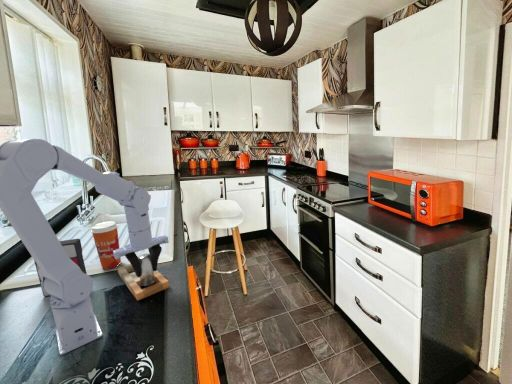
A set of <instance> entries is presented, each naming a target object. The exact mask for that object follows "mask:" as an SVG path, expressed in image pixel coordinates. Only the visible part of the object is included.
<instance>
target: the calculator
mask: <svg viewBox="0 0 512 384" xmlns="http://www.w3.org/2000/svg"><path fill="white" fill-rule="evenodd" d="M59 242H60V243H61V245H62V247H63V248H64V250H65V252H66V254H67V255H68V257H69V258H70V259H71V260H72V261H73V262H74V263H75V264H76V265H78V266H79V267H80V269H81V271H82V272H83V273H85V274H87V275H88V273H87V269H86V265H85V260H84V255H83V246H82V243H81V238H73V239H66V240H64V239H63V240H59ZM33 261H34V265H35V268H36V272H37V275H38V280H39V284H40V288H41V292H42V295H43V297H51V296H50V295H51V294H47V293H45V292H44V291H43V290H42V287H41V277H40V275H39V274H38V271H39V269H40V268H39V266H38V265H37V263H36V262H35V260H34V259H33Z"/></svg>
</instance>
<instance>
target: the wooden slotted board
mask: <svg viewBox="0 0 512 384" xmlns="http://www.w3.org/2000/svg"><path fill="white" fill-rule="evenodd" d="M116 269H117V274H118V276H119V277H120V278H121V280H122V281H123V282H124V284H125V285H126V288H128V290H129V291H130V292H131V294H132V295H133V297H134V298H135V299H136V301H137V302H138V301H140V300H142V299H145V298H147V297H150V296H152V295H155V294H157V293H158V292H161V291H164V290H166V289H169V288H170V284H169V283H170V282H169V279H167V278H166V277H165V276H163V274H162V273H160V271H158V270H157V271H154V276H155V282H154V283H153V284H151V285H148V286H147V287H146V286H145V287H144V288H141V287H143V286H142V285H141V283H140V277H139V278H138V277H137V276H136V273H135V271H134V269H133V267H132V265H131V263H130V264H126V265H124V266H121V267H119V268H117V267H116Z"/></svg>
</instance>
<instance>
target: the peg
mask: <svg viewBox="0 0 512 384" xmlns="http://www.w3.org/2000/svg"><path fill="white" fill-rule="evenodd" d="M137 257H138V264H139V270H140V274H141V277H140V283H141V285H142V286H141V287H143V286H144V287H146V286H147V287H148V286H151V285H154V284H155V283H156V282H155V276H154V269H153V263H152V257H151V254H149V253H143V254H140V255H137Z"/></svg>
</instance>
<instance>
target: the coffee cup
mask: <svg viewBox="0 0 512 384" xmlns="http://www.w3.org/2000/svg"><path fill="white" fill-rule="evenodd" d="M118 228H119V225H118V224H117V223H116V221H110V220H109V221H103V222H98V223H96V224H94V225H93V226H92V227H91V230H90V233H92V237H93V242H94V244H95V247H96V251H97V255H98V258H99V262H100V266H101V268H102V267H103V268H104V269H103V268H102V269H103V270H110V269H114V268H117V267H118V266H117V265H118V264H119V263H120V262H121V260H122V259H121V257H120V258H119V259H115V257H114V254H113V250H116V249H119V248H120V240H119V233H118V231H119V230H118ZM121 263H122V262H121ZM116 266H117V267H116Z"/></svg>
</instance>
